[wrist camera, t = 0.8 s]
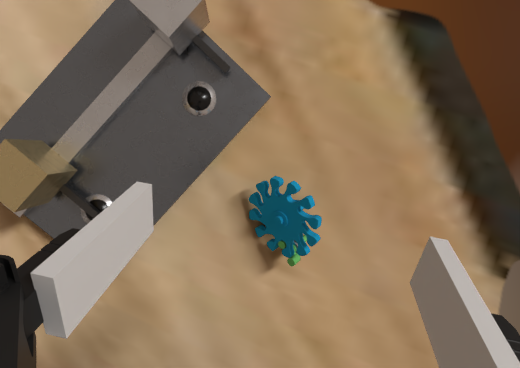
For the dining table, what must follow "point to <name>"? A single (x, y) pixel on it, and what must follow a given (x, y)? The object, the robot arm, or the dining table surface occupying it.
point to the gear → (285, 219)
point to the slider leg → (178, 24)
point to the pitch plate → (120, 123)
